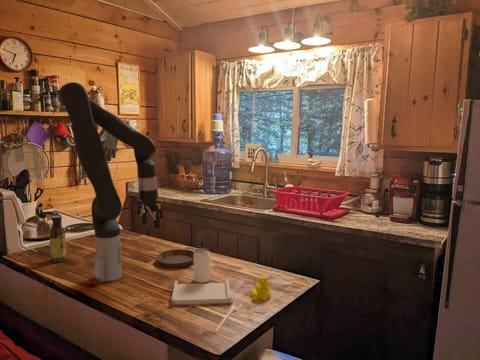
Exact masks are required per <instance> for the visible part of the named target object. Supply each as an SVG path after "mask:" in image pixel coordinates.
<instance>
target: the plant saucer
mask: <svg viewBox="0 0 480 360" xmlns="http://www.w3.org/2000/svg"><path fill="white" fill-rule="evenodd" d="M194 252H195V251H194V250H191V249H190V250H189V249H179V248H177V249H170V250H166V251H162V252H161V253H158V255H156V260H157V261H158V262H159V264H160V265H162V266H164V267H167V268H183V267H188V266H190V265H192V264H194Z"/></svg>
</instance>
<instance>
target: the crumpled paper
mask: <svg viewBox="0 0 480 360" xmlns="http://www.w3.org/2000/svg"><path fill="white" fill-rule="evenodd" d="M257 279H258V281H257V283H256V284H255V287H254V288H250V296H251V300H253V301H255V302H256V301H259V300H262V301H267V300H268V299H269V298H271V297H272V294H271V293H272V291H271V290H270V286H271V283H269V281H268V280H267V277H266V276H265V275H264V274H261V275H260V276H259V277H258V278H257Z"/></svg>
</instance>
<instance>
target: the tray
mask: <svg viewBox="0 0 480 360" xmlns="http://www.w3.org/2000/svg"><path fill="white" fill-rule="evenodd" d="M172 289H173V290H172V295H171V298H170V305H171V306H197V305H199V306H200V305H202V306H203V305H227V304H228V305H229V304H232V297H231V290H230V289H231V287H230V281H229V279H225V282H217V283H214V282H212V283H208V282H206V283H179V281H178V280H174V284H173V288H172Z"/></svg>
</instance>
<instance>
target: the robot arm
mask: <svg viewBox="0 0 480 360" xmlns="http://www.w3.org/2000/svg"><path fill="white" fill-rule="evenodd" d="M57 97H58V100H59V103H60V104H61V105H62V106H63V107H65V110H66V112H67V115H68V117H69V119H70V122H71V125H72V130H73V131H72V132H73V139H74V140H73V141H74V145H75V150H76V154H77V157H78V161H79V162H80V166H81V168H82V169H83V172H84V174H85V176H87V178H88V180H89V182H90V183H91V186H92V187H93V190H94V194H95V197H94V198H93V199H92V203H91V218H92V219H91V221H92V228H93V230H94V231H93V232H94V239H95V240H94V241H95V245H94V246H95V254H94V255H93V261H94V278H95V279H96V280H97V281H99V283H104V282H113V281H117V280H120V279H121V278H122V276H123V275H122V272H123V271H122V247H121V227H120V225H119V224H118V221H117V218H118V217H119V216H120V215H121V213H122V210H123V207H122V205H123V204H122V202H121V199H120V196H119V194H118V192H117V189H116V186H115V184H114V182H113V179H112V174H111V171H110V166H109V163H108V159H107V155H106V152H105V149H104V145H103V143H102V140H101V137H100V135H99V131H98V129H97V126H96V125H98V126H99V127H100V128H101V129H103V130H104V131H106V132H107V133H108V134H109V135H111V136H113V138H115V139H116V140H118V141H119V142H121V143H122V144H125V145H127V146H128V147H130V148H132V149H133V153H134V154H133V155H134V159H135V162H136V166H137V188H138V190H137V191H138V199H139V200H137V201H136V210H137V211H136V213H137V215H139V216H140V218H141V225H142V226H146V225H148V214H149V215H150V216H151V217H152V218H153V225H154V226H153V227H154V230H159V229H160V228H161V221H160V220H161V219H163V218H164V214H163V213H164V212H163V211H164V210H163V204H162V203H157V200H158V199H159V192H158V181H157V180H158V179H157V174H156V173H157V172H156V165H155V163H154V161H153V158H152V156H153V155H154V154H155V153H156V150H157V146H156V144H155V141H154V140H152V139H151V138H150V137H148V136H147V135H145V134H143V133H142V132H139V131H138V130H136V129H135V128H134V127H132V125H130V124H128V123H127V122H126V121H124V120H123V119H122V118H120V117H119V116H118V115H115V114H114V113H112V112H110V111H109V110H107V109H105V108H103V107H102V106H100V105H99V104H98V103H96V102H95V101H94V100H93V99H92V98H91V97H90V96H89V93H88V90H87V88H86V87H85V86H84V85H82V84H80V83H79V82H68V83H65V84H63V85H62V86H61V87H60V88H59V89H58V93H57Z"/></svg>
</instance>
